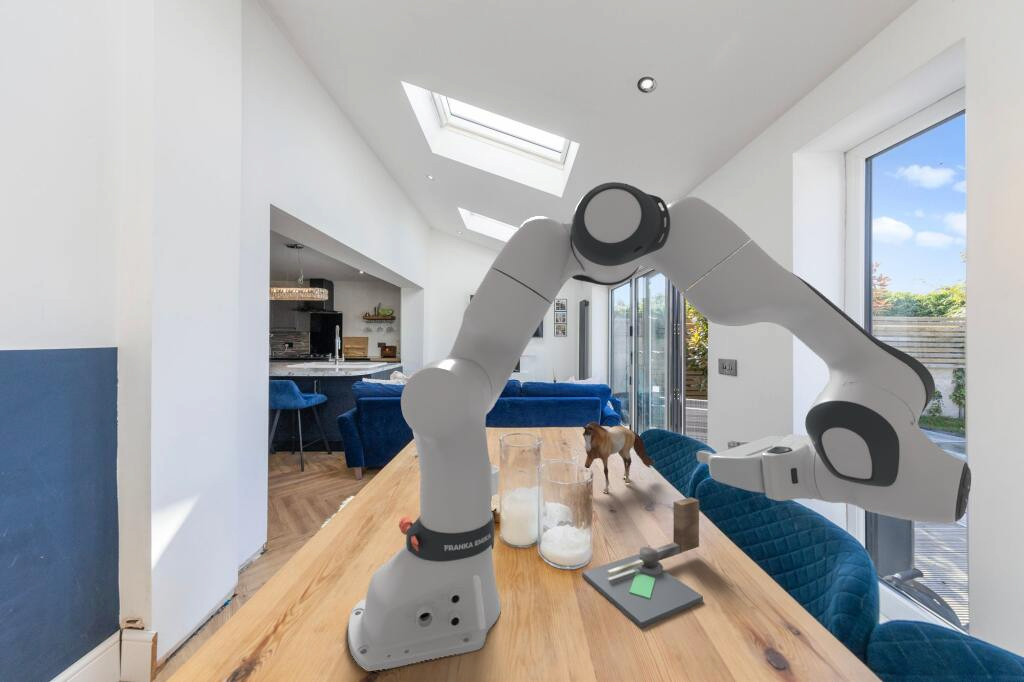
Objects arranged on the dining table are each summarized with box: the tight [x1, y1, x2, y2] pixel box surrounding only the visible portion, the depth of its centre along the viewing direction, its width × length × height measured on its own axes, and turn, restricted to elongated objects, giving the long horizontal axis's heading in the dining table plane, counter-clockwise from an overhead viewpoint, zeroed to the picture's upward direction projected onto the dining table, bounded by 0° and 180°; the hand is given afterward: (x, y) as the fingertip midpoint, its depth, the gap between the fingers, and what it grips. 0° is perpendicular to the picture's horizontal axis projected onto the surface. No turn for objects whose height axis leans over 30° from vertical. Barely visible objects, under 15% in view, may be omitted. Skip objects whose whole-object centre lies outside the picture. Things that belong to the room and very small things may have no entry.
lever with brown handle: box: [607, 496, 700, 576], centre depth 71 cm, size 22×3×10 cm, turn 117°
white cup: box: [491, 464, 500, 501], centre depth 97 cm, size 8×8×10 cm
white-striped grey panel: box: [581, 553, 704, 629], centre depth 66 cm, size 14×14×1 cm
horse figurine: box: [582, 421, 656, 493], centre depth 113 cm, size 31×8×21 cm, turn 127°
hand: (715, 450), depth 69 cm, fingers open, 8 cm apart
